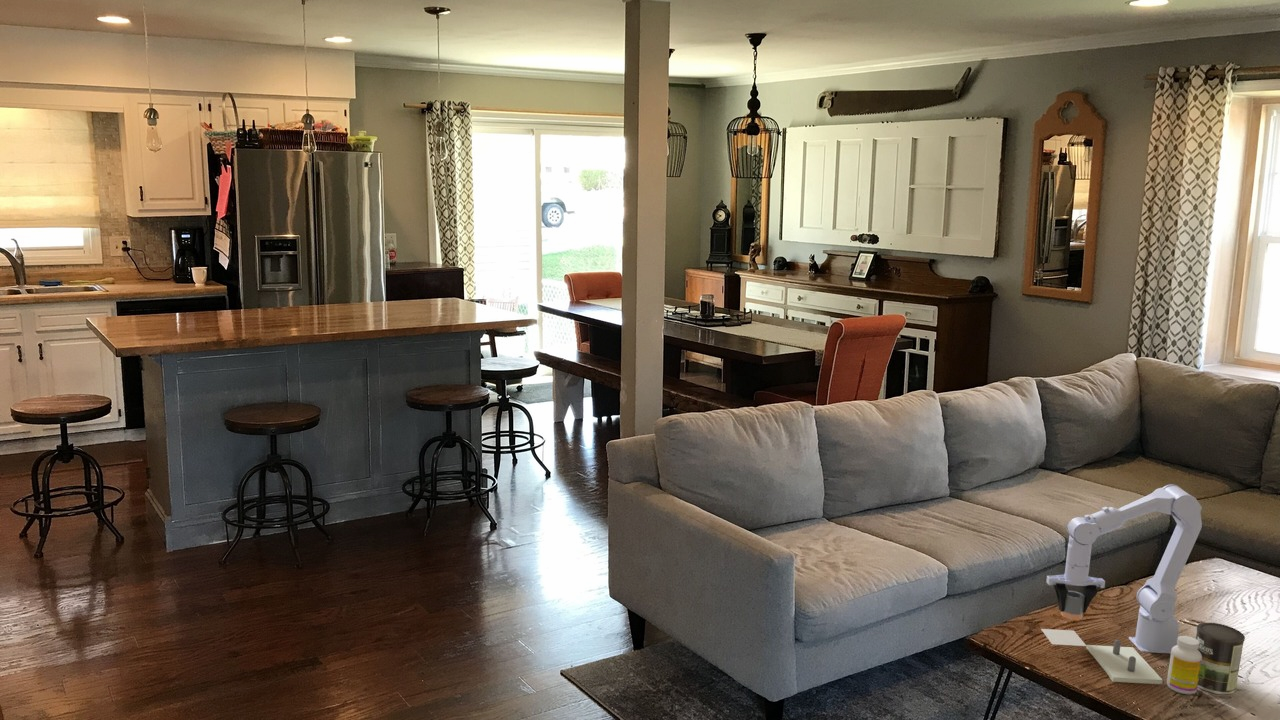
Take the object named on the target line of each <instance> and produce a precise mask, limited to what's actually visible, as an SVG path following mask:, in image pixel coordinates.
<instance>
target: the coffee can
mask: <svg viewBox="0 0 1280 720" xmlns="http://www.w3.org/2000/svg"><path fill="white" fill-rule="evenodd" d="M1195 639H1197V640H1198V641H1199V648H1198V649H1197V650H1198V651H1199V652H1200V653H1201V655H1202V660H1201V667H1200V674H1199V681H1198V687H1197V689H1201V690H1203V691H1205V692H1208V693H1212V694H1215V695H1223V696H1224V695H1225V696H1226V695H1232V694H1234V693H1236V691H1237V683H1238V677H1239V671H1240V665H1241V659H1242V653H1243V647H1244V642H1245V640H1246V636H1245V635H1244V633H1242V632H1241V631H1240V630H1238V629H1236V628H1234V627H1231V626H1230V625H1229V626H1228V625H1227V624H1226V625H1225V624H1222V623H1217V622H1201V623H1198V624H1197V626H1196V636H1195Z"/></svg>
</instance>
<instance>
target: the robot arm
mask: <svg viewBox="0 0 1280 720" xmlns="http://www.w3.org/2000/svg"><path fill="white" fill-rule="evenodd" d="M1202 509H1203V507H1202V505H1201V503H1199V500H1197V498H1196V497H1195V496H1193V495H1191V494H1190V493H1188V492H1186V491H1185V490H1183V488H1181V487H1180V486H1179V485H1176V484H1167V485H1166V484H1165V486H1163V487H1159V488H1156V489H1155V490H1154V491H1153V492H1152V493H1149V494H1147V495H1146V496H1143V497H1140V498H1138V499H1137V500H1134V501H1132V502H1130V503H1128V504H1126V505H1123V506H1121V507H1119V508H1116V507H1113V506H1109V507H1108V506H1102V507H1101V510H1099V511H1097V512H1094V513H1092V514H1088V513H1087V514H1085V515H1084V517H1083V516H1081V517H1080V516H1077V517H1074V518H1072V519H1071V520H1070V521H1069V522H1068V524H1067V525H1066V528H1065V529H1066V532H1067V533H1068V535H1069V536H1068V543H1067V551H1066V559H1065V570H1064V573H1063V574H1055V575H1046V584H1047V585H1048V586H1053V588H1054V590H1055V594H1056V597H1057V598H1056V599H1057V602H1058V603H1057V604H1058V610H1059V611H1060V613H1061V612H1064V610H1065V601H1066V596H1067V593H1068V591H1069V590H1068V589H1067V586H1073V587H1074V586H1077V587H1080V586H1081V593H1082V594H1083V595H1084V596H1085V601H1084V609H1083V614H1086V613H1087V610H1088V608H1089V605H1090V604H1091V602H1092V600H1093V599H1094V597H1095V596H1096V595H1097V594H1098V592H1099V590H1098V588H1100V589H1105V586H1106V581H1105V579H1103V578H1102V577H1094V576H1089V573H1090V562H1091V556H1092V547H1093V543H1095V542H1096V541H1097V539H1098V537H1100V536H1102V535H1104V534H1108V533H1109V532H1110V533H1111V532H1112V531H1115V530H1118V529H1120V528H1122V527H1123V525H1124V524H1125V522H1126V521H1128V520H1131V519H1134V518H1139V517H1141V516H1143V515H1147V514H1150V513H1153V512H1158V513H1162V514H1166V515H1171V516H1172V518H1173V519H1174V521H1175V523H1176V525H1175V528H1174V530H1173V533H1172V535H1171V537H1170V540H1169V541H1168V543H1167V546H1166V548H1165V551H1164V553H1163V555H1162V557H1161V560H1160V562H1159V564H1158V566H1157V568H1156V570H1155V573H1154V575H1153V577H1151V578H1148V579H1146V581H1145V583H1144V585H1143V586H1142V587H1140V588H1139V589H1138V590H1137V593H1136V600H1137V603H1138V604H1139V610H1138V616H1137V624H1136V630H1135V636H1128V639H1129V641H1130V642H1131V643H1132V644H1133V645H1135V647H1136V648H1137V650H1139V651H1140V652H1142V653H1151V654H1153V653H1154V654H1170V655H1171V650H1172V648H1173V647H1174V646H1176V645H1178V644H1177V639H1178V637H1179V631H1180V630H1179V629H1180V628H1179V622H1178V620H1177V618H1176V617H1175V616H1174V615H1175V612H1176V606H1175V605H1176V601H1177V599H1178V597H1177V592H1176V590H1177V589H1176V585H1177V584H1178V581H1179V579H1180V577H1181V574H1182V572H1183V570H1184V568H1185V566H1186V564H1187V561H1188V559H1189V556H1190V554H1191V552H1192V550H1193V548H1194V545H1195V543H1196V541H1197V539H1198V537H1199V535H1200V532H1201V530H1202V527H1203V521H1202V515H1201V511H1202ZM1097 587H1098V588H1097Z"/></svg>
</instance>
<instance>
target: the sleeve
mask: <svg viewBox="0 0 1280 720" xmlns="http://www.w3.org/2000/svg"><path fill="white" fill-rule="evenodd" d="M1084 601H1085V596H1084V595H1083V594H1082V592H1079V591H1076V590H1068V593H1067V596H1066V601H1065V610H1064V612H1061V611H1060V615H1061V616H1062V617H1063V618H1066V619H1069V620H1071V621H1080V620H1081V619H1082V618H1083V617H1084V613H1083V609H1084Z"/></svg>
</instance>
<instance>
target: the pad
mask: <svg viewBox="0 0 1280 720" xmlns="http://www.w3.org/2000/svg"><path fill="white" fill-rule="evenodd" d="M1040 630H1041V632H1042V633H1043V634H1044V635H1045V637H1046V638H1047V640H1049V642H1050V643H1051V645H1054V646H1055V645H1057V646H1058V645H1060V646H1077V647H1086V646H1087V644H1086V643H1085V642H1084V640H1082V638H1081V637H1080V636H1079V634H1077V633H1076V631H1075V630H1071V629H1069V630H1068V629H1054V628H1053V629H1050V628H1049V629H1048V628H1040Z"/></svg>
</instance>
